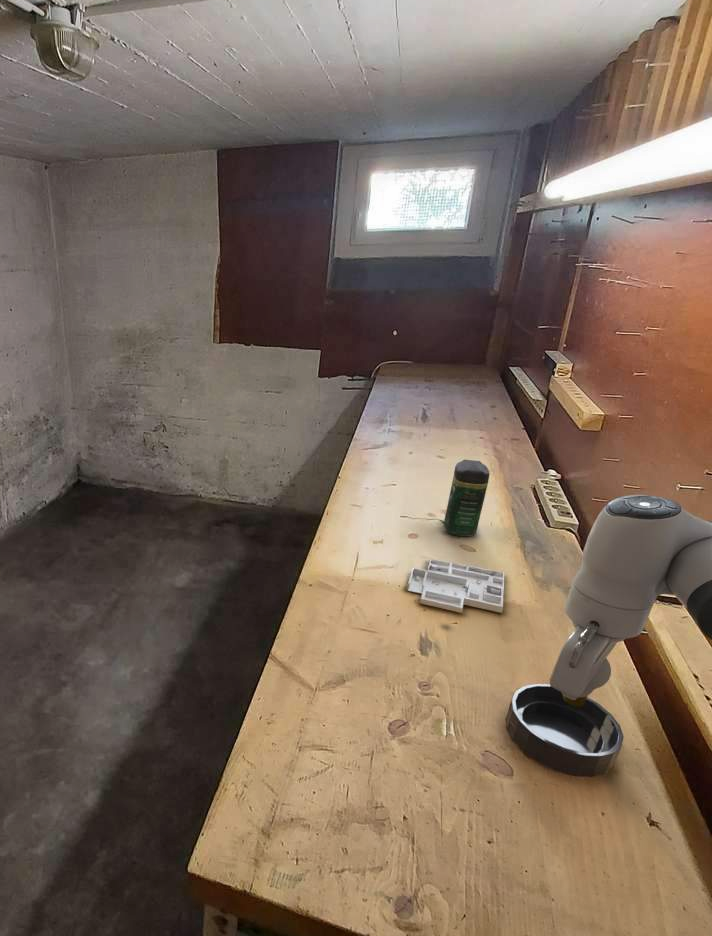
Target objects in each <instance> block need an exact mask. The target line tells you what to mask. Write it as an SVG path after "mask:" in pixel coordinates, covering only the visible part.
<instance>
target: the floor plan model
mask: <svg viewBox="0 0 712 936" xmlns="http://www.w3.org/2000/svg"><path fill="white" fill-rule="evenodd" d="M406 591H409V592H413V593H418V594H421V596H420V602H419V603H420V604H421V605H425V606H430V607H434V608H438V609H443V610H447V611H452V612H456V613H460V614H462V613H463V610H464V609H463V608H464V605H465V606H470V607H473V608H477V609H482V610H487V611H492V612H496V613H500V614H502V613H503V610H504V592H505V571H504V572H503V571H498V570H493V569H488V568H483V567H479V566H478V567H477V566H475V565H474V566H473V565H469V564H459V563H454V562H450V561H446V560H445V561H444V560H439V559H435V558H430V559H429V563H428V568H427V569H423V568H419V567H418V568H417V567H412V569H411V571H410V575H409V579H408V582H407V588H406Z"/></svg>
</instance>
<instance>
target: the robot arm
mask: <svg viewBox="0 0 712 936" xmlns="http://www.w3.org/2000/svg"><path fill="white" fill-rule="evenodd" d="M581 559H582V564H581V567H580V569H579V571H577V573H576V574H575V575H574V578H573V580H572V583H571V587H570V589H569V592H568V596H567V598H566V601H565V604H564V612H565V614H566V615H567V617H568V619H569V620H571V624H572V625H573V627H574V628H575V629H574V630H573V631H572V632H571V634H570V635H569V636H568V637H567V639H566V641H565V642H564V644H563V646H562V648H561V649H560V652H559V655H558V656H557V659H556V662H555V664H554V667H553V670H552V672H551V674H550V677H549V684H550V686H551V687H552V688H554V689H556V690H558V691H560V692H562V695H563V696H565V697H567V698H569V699H571V700H576V698H578V697H579V696H580V695H581V694H582V692H583V691H584V689H585V688H586V687H587V685H588V684H589V682H590V681H591V679H592V678H593V677H594V675H595V674H596V672H597V671H598V669H599V668H600V666H601V664H602V663H603V661H604V660H605V658H606V659H607V658H608V656H609V655H610V654H611V652H612V651H613V649H614V648H615V646H616V645H617V644H618V643H620V642H623V641H625V640H626V639H631V638H636V637H637V636H640V635H641V634H642V633H643V631H644V629H645V626H646V624H647V621H648V619H649V616H650V614H651V611H652V609H653V607H654V604H655V601H656V600H657V598H658V597H659V596H661V595H670V596H674V597H675V598H676V599H677V600H678V601H679V602H680V603H681V605H682V606H684V608H685V609H686V611H687V612H688V614H689V616H690V617H691V619H693V621H694V623H695V624H696V625H697V627H698V629H699V630H700V631H701V633H702V634H703V635H704V636H705V637H706V638H707V639H709V640H711V641H712V521H710V520H705V519H702V518H700V517H697V516H695V515H694V514H692V513H690V512H688V511H687V510H685V509H684V508H683V507H682V505H681V504H679V503H678V502H676V501H674V500H672V499H670V498H667V497H664V496H658V495H652V494H629V495H624V496H620V497H616V498H613V499H612V500H611V501H610V502H608V503H607V504H606V505H605V506H604V507H603V508H602V509H601V511H600V512H599V514H598V516H597V517H596V519H595V520H594V523H593V524H592V527H591V529H590V531H589V534H588V536H587V539H586V542H585V545H584V548H583V550H582V556H581Z"/></svg>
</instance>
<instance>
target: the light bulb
mask: <svg viewBox="0 0 712 936" xmlns="http://www.w3.org/2000/svg"><path fill="white" fill-rule="evenodd" d="M611 676H612V667H611V664H610V662H609V659H607V658H605V660H604V661H603V663H602V664H601V666H600V668H599V669H598V671H597V672H596V674H595V675H594V677H593V678H592V679H591V681H590V682H589V684H588V685H587V687H586V688H585V689H584V691H583V692H582V694H581V695H580V696H579V697H578V698H576V700H571V699H569V698H567V697H565V696H563V699H564V700H565V701H566V702H567V703H568V704H569V705H571V706H577V707H580V706H583V705H584V703H585V700H586V698H587V697H588V696H590V695H591V694H592V693H593V691H594V690H597V689H599V688H601V687H603V686H605V685H606V684H607V683H608V682H609V680H610V678H611Z"/></svg>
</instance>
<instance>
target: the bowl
mask: <svg viewBox="0 0 712 936" xmlns="http://www.w3.org/2000/svg"><path fill="white" fill-rule="evenodd" d="M504 720H505V727H506V729H505V730H506V731H507V733H508V735H509V737H510V739H511V740H512V742H513V743H514V744H515V746H517V747H518V748H519V749H520V751H521V752H522V753H523V754H525V755H526V756H527V757H529V758H530V759H532V760H533V761H535V762H536V763H538V764H539V765H541V766H544V767H546V768H548V769H550V770H552V771H554V772H557V773H559V774H563V775H568V776H571V777H575V778H595V777H599V776H603V775H605V774H606V773H608V772H609V771H610V770H612V768H613V767H614V765H615V762H616V760H617V758H618V757H619V754H620V751H621V750H622V747H623V744H624V743H623V742H624V738H625V736H624V733H623V730H622V727H621V725H620V723H619V722H618V721H617V720H616V718H615V717H614V716H613V714H611V712H610V711H608V710H607V709H606V708H605V707H603V706H602V705H601V704H599V703H598V702H597V701H595V700H593V699H591V698H590V697H588V696H587V698H586V700H585V703H584V705H583V706H580V707H577V706H571V705H569V704H568V703H567V702H566V701H565V700H564V699H563V695H562V692H560V691H558V690H556V689H554V688H552V687H551V686H550V683H531V684H527V685H522V686H521V687H520V688H519V689H517V690H516V691H514V693H513V695H512V698H511V699H510V704H509V706H508V710H507V713H506V717H505V719H504Z"/></svg>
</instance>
